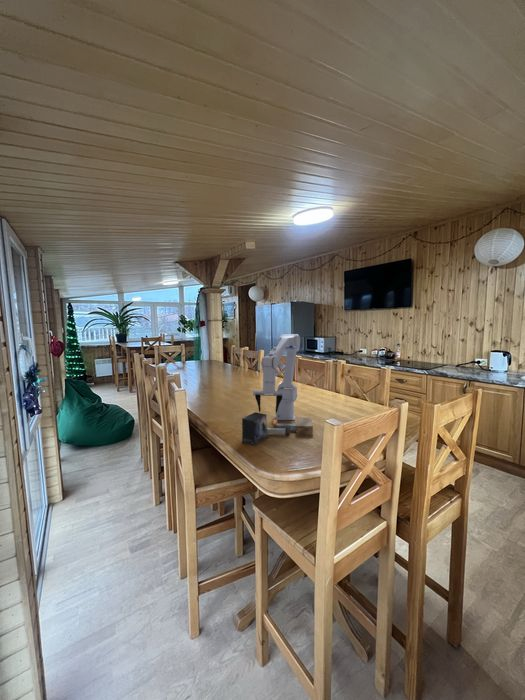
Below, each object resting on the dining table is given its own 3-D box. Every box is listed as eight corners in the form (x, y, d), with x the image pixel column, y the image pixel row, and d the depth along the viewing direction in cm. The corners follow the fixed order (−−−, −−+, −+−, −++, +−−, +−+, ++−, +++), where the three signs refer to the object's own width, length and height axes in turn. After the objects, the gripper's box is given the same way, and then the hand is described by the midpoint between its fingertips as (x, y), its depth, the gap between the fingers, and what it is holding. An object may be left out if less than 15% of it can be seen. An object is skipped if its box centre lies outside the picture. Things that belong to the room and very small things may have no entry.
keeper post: (285, 435, 136) (285, 427, 136) (285, 434, 138) (285, 426, 138) (289, 435, 136) (289, 427, 136) (289, 434, 138) (289, 426, 137)
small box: (254, 445, 126) (253, 420, 125) (241, 442, 130) (240, 418, 129) (267, 437, 135) (267, 413, 134) (255, 434, 139) (254, 411, 138)
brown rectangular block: (273, 432, 141) (272, 423, 140) (273, 428, 147) (273, 419, 146) (298, 433, 140) (298, 424, 139) (298, 428, 146) (298, 419, 145)
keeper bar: (266, 433, 137) (266, 429, 137) (266, 432, 138) (266, 428, 138) (285, 433, 136) (285, 429, 136) (285, 432, 138) (285, 428, 137)
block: (296, 435, 137) (296, 426, 136) (296, 425, 149) (296, 417, 148) (312, 435, 136) (312, 426, 136) (311, 426, 148) (311, 417, 147)
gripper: (253, 382, 137) (252, 412, 137) (285, 383, 138) (284, 413, 138) (253, 380, 145) (252, 409, 144) (284, 382, 145) (283, 410, 145)
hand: (268, 411), depth 141 cm, fingers open, 7 cm apart
